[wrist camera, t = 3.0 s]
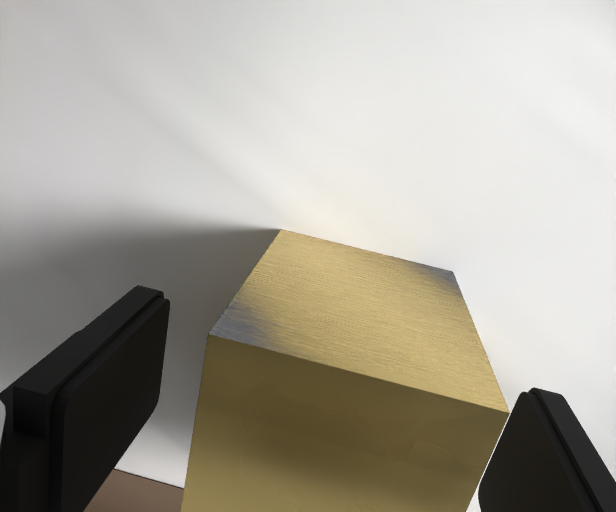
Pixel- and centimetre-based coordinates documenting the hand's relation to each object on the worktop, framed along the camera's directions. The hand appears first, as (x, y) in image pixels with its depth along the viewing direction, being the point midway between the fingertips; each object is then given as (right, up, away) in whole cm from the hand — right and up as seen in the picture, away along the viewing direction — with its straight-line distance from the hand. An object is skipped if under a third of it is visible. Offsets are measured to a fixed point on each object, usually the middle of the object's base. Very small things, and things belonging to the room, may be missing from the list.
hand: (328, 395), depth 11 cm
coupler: (0, +1, +1) cm, 1 cm away
